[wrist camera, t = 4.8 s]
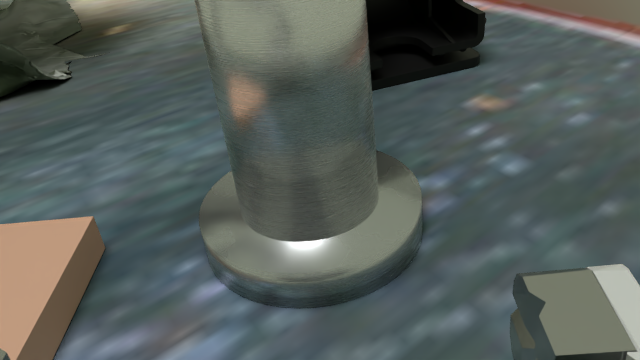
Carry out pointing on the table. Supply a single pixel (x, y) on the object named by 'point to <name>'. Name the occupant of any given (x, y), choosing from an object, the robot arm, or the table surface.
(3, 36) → the rose bouquet
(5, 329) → the locating plate
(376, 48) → the end cap
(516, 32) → the table surface
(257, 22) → the hub
